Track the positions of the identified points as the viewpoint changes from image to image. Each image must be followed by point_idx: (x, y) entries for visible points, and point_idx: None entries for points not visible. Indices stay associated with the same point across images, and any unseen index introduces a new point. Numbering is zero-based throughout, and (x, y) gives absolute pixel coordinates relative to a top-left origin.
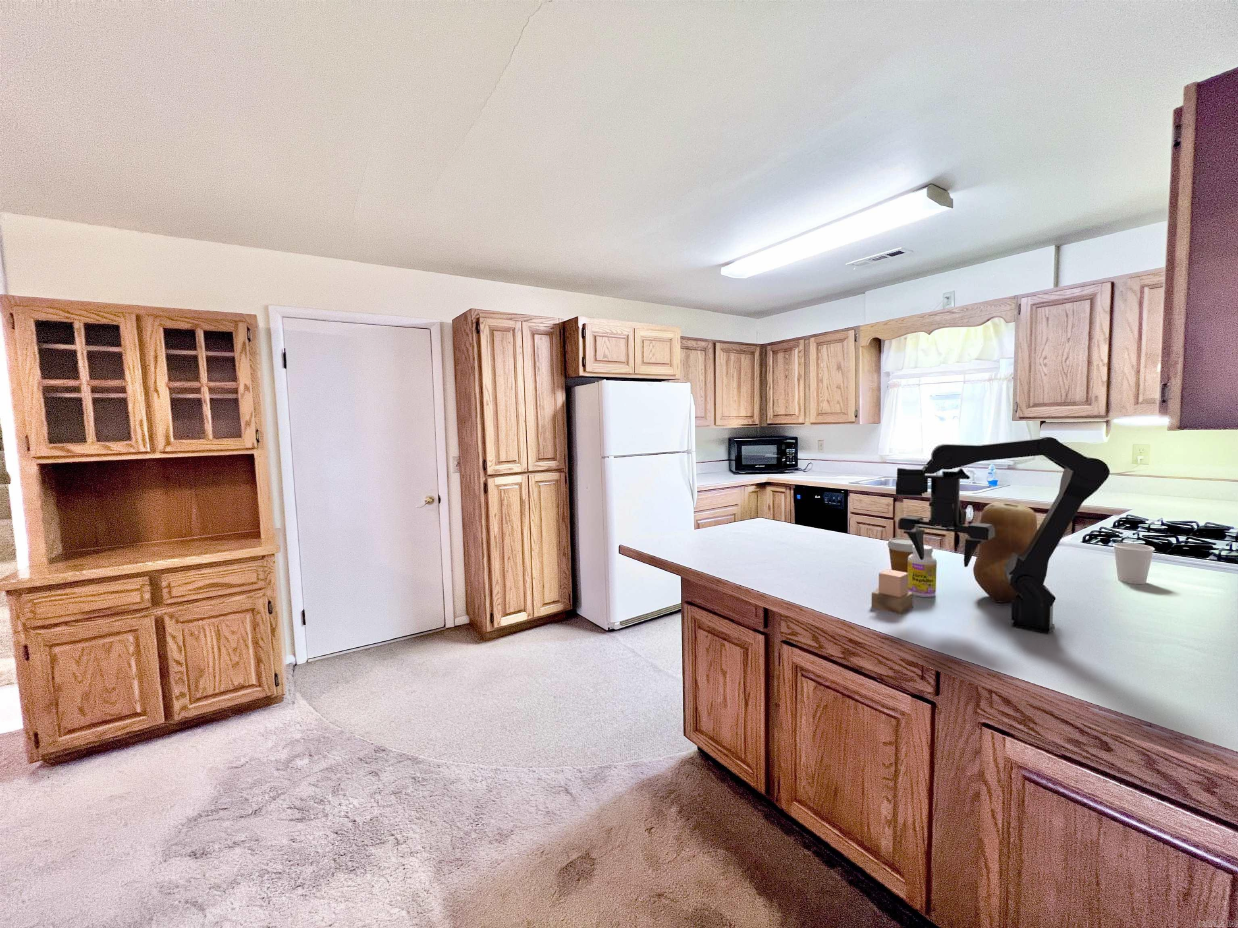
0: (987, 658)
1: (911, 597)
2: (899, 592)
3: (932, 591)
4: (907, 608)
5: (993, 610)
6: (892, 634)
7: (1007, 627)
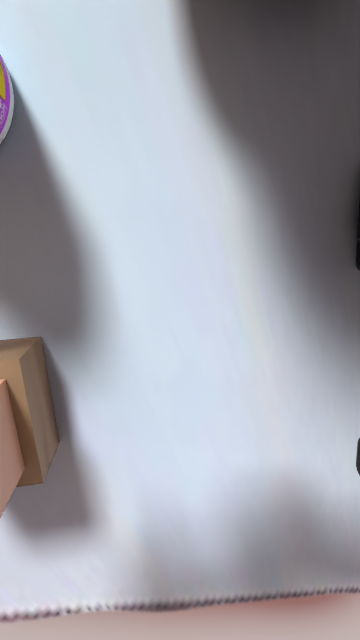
0: (347, 548)
1: (29, 368)
2: (13, 484)
3: (4, 106)
4: (47, 390)
5: (271, 113)
6: (135, 597)
7: (346, 291)
